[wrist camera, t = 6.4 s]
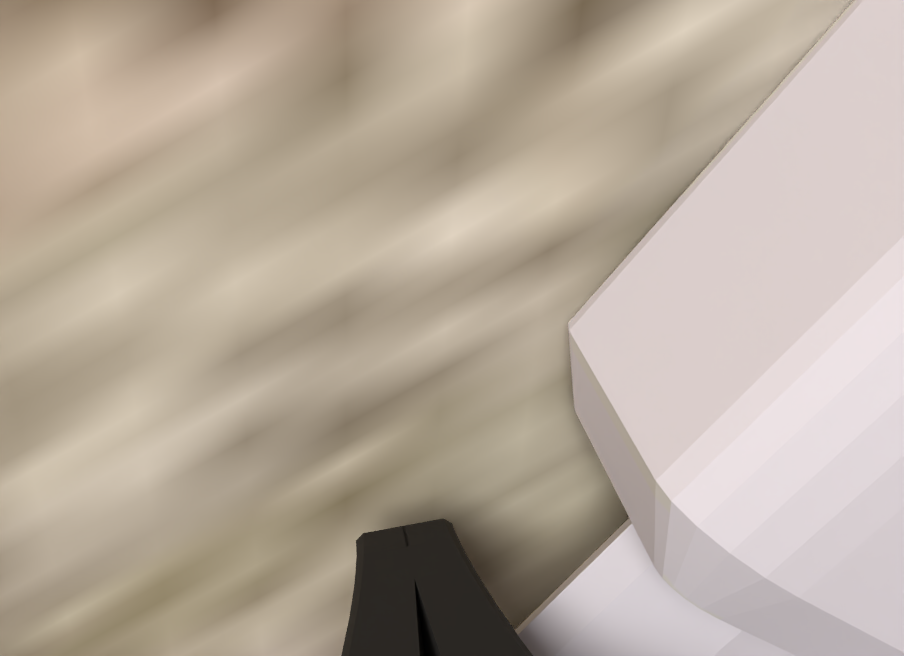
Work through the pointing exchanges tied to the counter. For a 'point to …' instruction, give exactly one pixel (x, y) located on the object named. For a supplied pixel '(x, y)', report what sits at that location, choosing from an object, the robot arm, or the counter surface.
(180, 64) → the counter surface
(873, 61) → the charger
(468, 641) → the robot arm
